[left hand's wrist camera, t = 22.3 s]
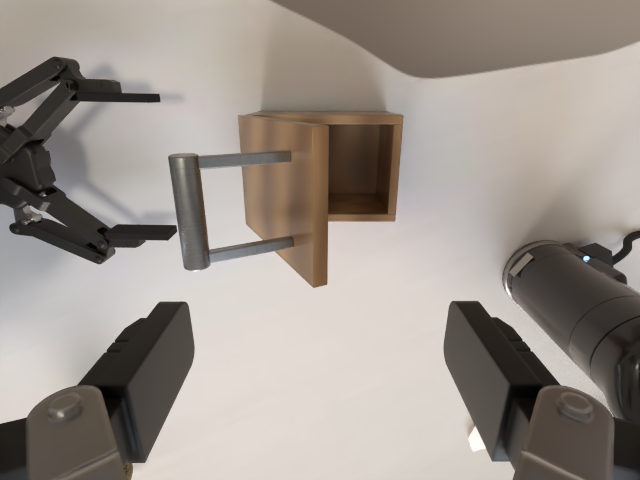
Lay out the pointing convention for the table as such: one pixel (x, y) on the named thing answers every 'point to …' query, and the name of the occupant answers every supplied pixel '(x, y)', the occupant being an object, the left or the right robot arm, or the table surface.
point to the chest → (358, 161)
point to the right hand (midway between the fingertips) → (164, 169)
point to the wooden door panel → (264, 196)
